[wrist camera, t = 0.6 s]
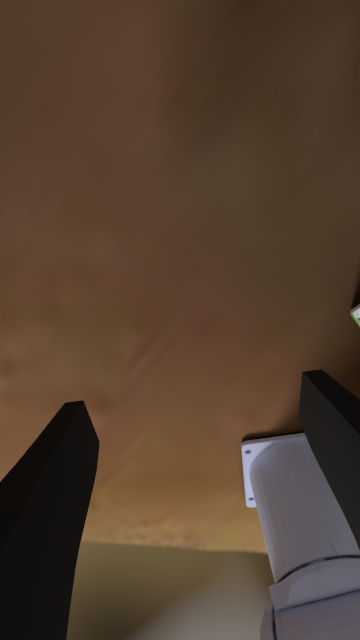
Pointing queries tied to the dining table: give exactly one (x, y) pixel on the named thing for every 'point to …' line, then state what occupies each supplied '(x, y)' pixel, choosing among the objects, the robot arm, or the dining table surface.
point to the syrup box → (356, 314)
